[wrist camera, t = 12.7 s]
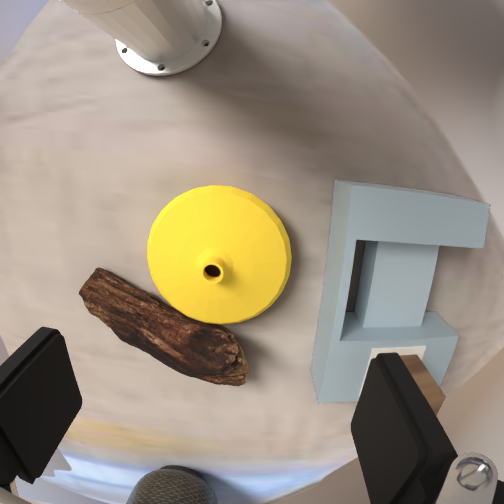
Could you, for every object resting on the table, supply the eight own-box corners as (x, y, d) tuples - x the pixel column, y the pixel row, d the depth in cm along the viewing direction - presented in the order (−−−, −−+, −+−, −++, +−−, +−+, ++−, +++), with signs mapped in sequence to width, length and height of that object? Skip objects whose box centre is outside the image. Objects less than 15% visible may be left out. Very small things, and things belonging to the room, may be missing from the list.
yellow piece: (226, 335, 40) (220, 368, 34) (130, 254, 37) (106, 274, 31) (317, 249, 37) (330, 270, 30) (215, 153, 34) (204, 152, 27)
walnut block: (379, 356, 32) (403, 402, 25) (416, 354, 32) (445, 396, 25) (368, 389, 34) (387, 437, 26) (404, 387, 34) (428, 430, 26)
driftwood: (266, 325, 40) (267, 362, 32) (243, 372, 42) (240, 412, 34) (100, 260, 38) (68, 283, 30) (90, 312, 40) (62, 341, 32)
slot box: (334, 179, 34) (352, 185, 27) (457, 195, 34) (491, 205, 27) (310, 369, 42) (318, 404, 35) (418, 364, 41) (438, 393, 34)
